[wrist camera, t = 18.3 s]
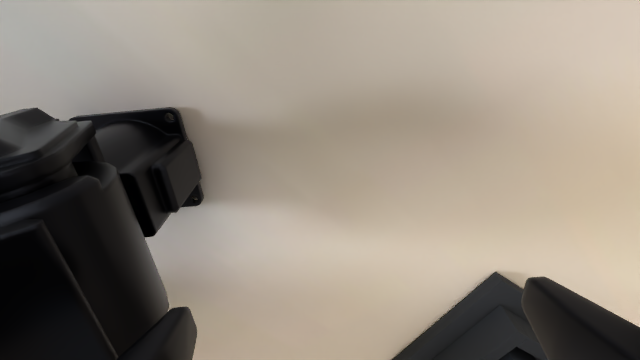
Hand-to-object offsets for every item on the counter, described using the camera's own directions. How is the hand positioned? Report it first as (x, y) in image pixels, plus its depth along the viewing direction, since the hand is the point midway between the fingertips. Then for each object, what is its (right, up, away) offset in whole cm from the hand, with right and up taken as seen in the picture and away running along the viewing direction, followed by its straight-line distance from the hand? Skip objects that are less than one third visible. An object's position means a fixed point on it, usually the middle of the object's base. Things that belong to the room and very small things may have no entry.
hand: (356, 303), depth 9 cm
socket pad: (+14, -12, +21) cm, 28 cm away
